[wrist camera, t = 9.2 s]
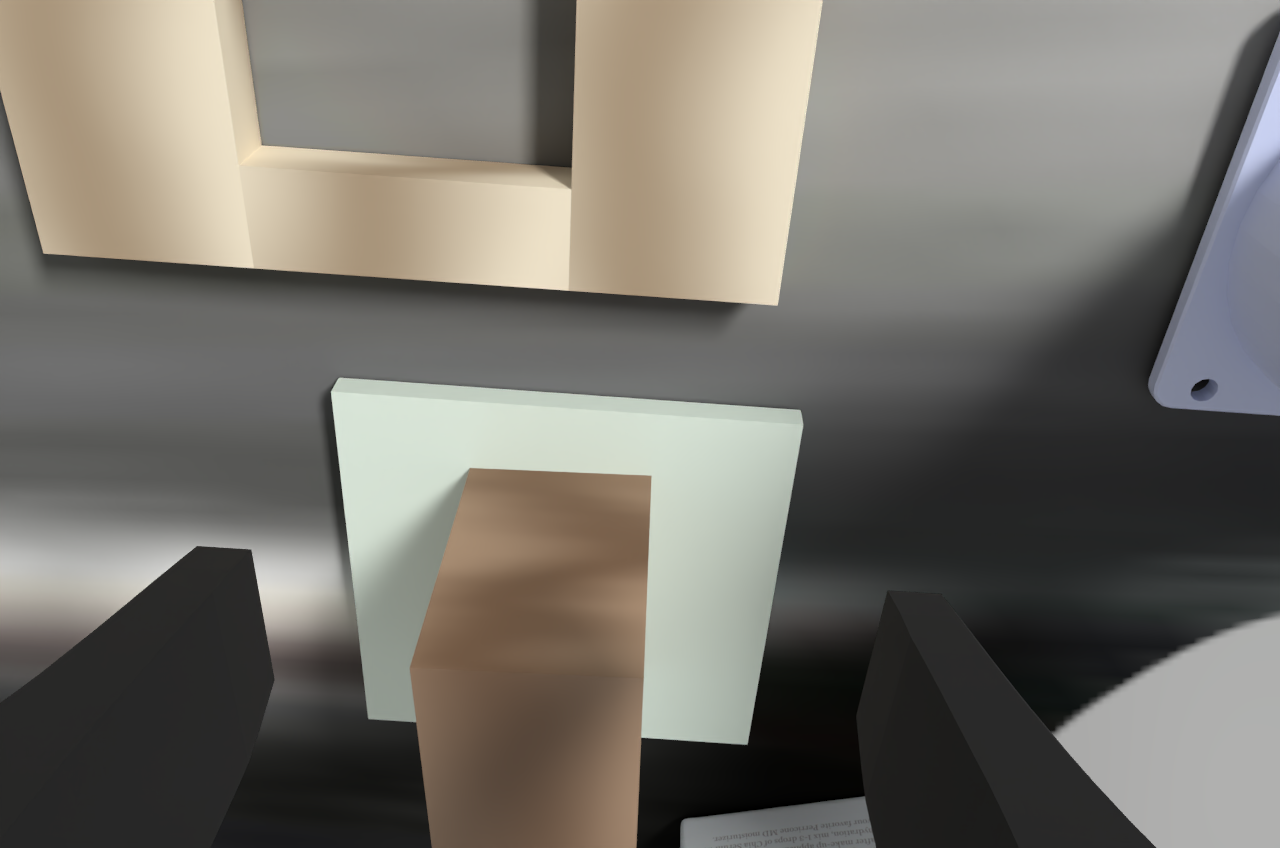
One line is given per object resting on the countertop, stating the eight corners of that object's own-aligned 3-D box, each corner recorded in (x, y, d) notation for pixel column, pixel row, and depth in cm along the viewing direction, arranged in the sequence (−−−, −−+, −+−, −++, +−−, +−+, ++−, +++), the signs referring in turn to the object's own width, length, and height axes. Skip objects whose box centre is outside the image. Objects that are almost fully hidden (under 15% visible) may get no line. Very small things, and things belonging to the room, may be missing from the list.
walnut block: (651, 475, 23) (643, 678, 17) (643, 671, 26) (634, 890, 21) (470, 467, 23) (409, 668, 18) (483, 664, 26) (436, 881, 21)
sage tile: (800, 409, 22) (803, 424, 22) (746, 726, 28) (747, 744, 27) (339, 377, 22) (330, 391, 22) (373, 701, 28) (368, 718, 27)
